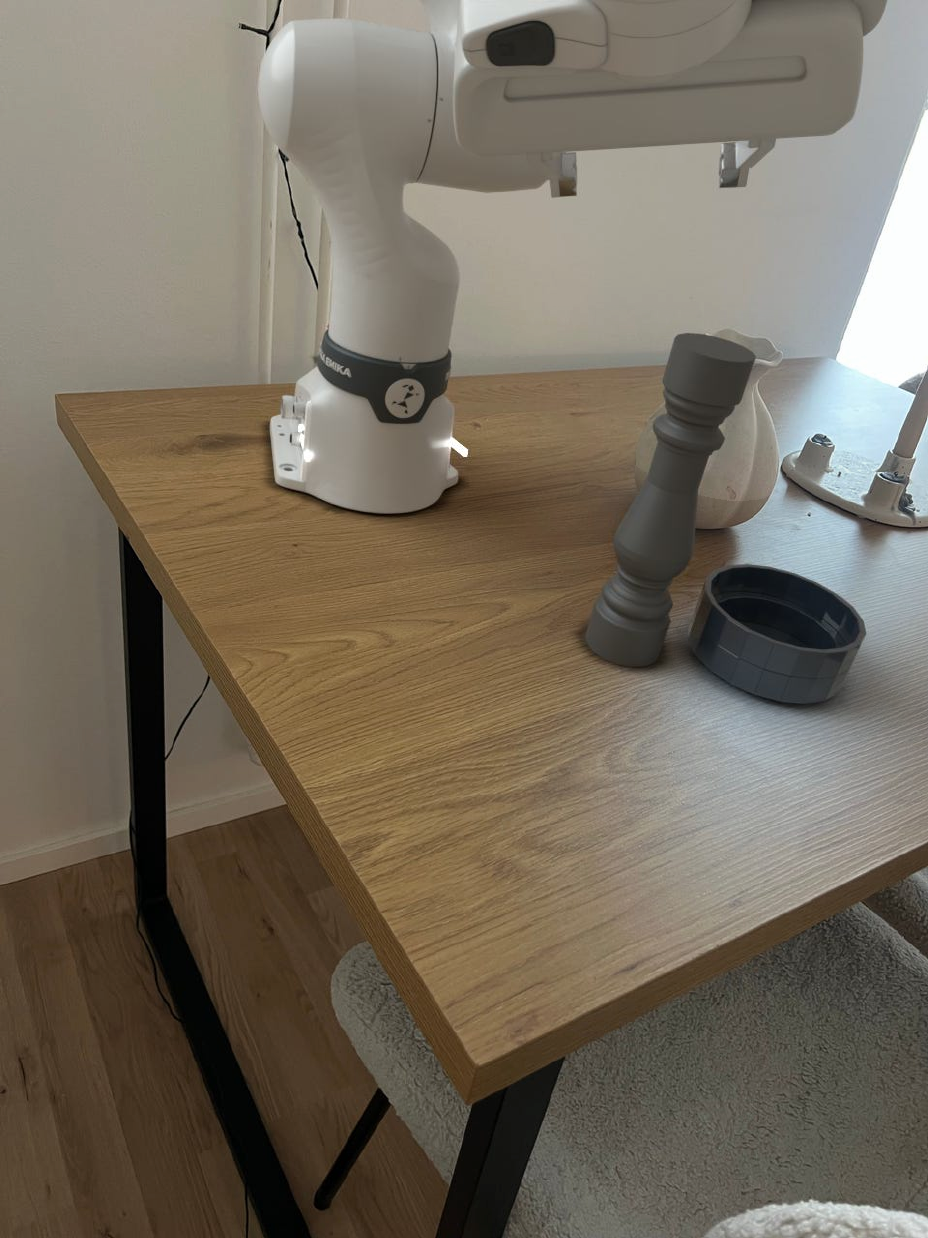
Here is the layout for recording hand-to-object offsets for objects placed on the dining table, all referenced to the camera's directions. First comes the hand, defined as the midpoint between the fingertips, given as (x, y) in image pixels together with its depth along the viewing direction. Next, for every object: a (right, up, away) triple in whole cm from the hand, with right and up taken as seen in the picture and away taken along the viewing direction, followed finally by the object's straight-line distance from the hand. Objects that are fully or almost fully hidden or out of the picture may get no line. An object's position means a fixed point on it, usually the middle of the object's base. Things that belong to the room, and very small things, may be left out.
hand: (647, 182), depth 58 cm
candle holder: (+2, -27, +25) cm, 37 cm away
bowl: (+14, -28, +26) cm, 41 cm away
